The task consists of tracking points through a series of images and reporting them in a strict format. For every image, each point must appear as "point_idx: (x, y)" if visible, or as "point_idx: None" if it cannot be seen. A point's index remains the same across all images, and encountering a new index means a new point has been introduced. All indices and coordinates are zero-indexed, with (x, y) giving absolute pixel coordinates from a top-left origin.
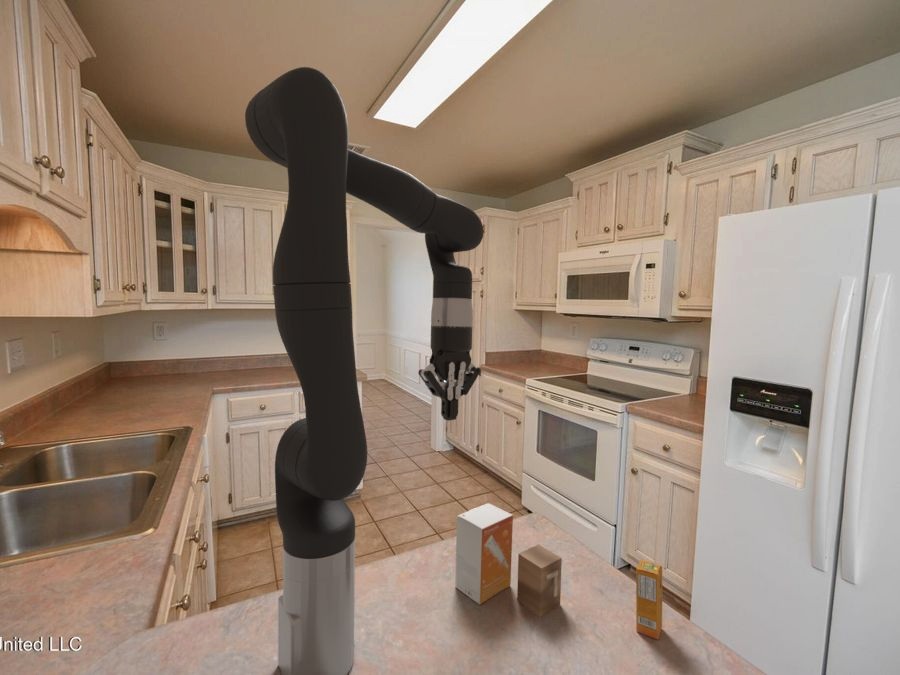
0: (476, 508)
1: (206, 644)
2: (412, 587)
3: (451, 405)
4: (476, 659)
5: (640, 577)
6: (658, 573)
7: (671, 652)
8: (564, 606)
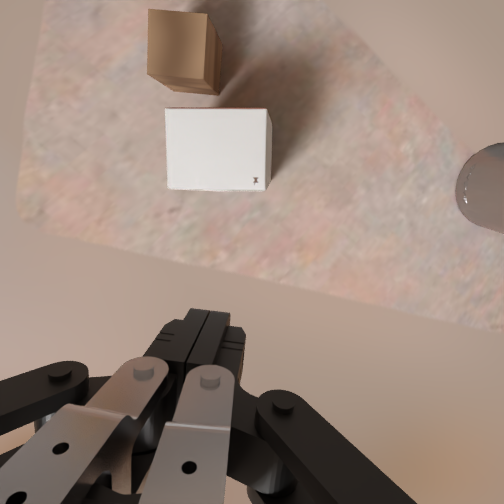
0: (209, 185)
1: None
2: (318, 224)
3: (209, 346)
4: (352, 51)
5: None
6: None
7: None
8: None
